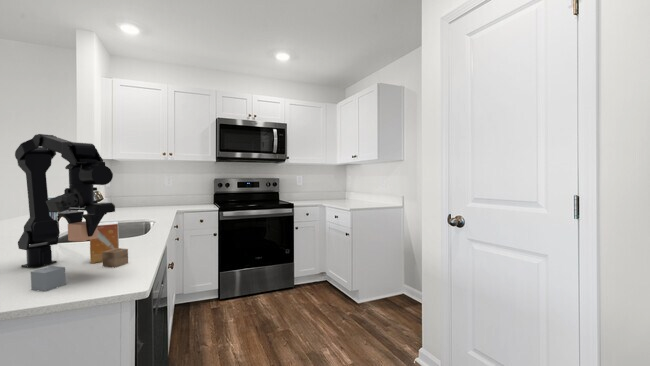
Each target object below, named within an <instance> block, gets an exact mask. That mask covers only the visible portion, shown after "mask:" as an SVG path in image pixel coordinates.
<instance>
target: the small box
mask: <svg viewBox="0 0 650 366" xmlns="http://www.w3.org/2000/svg"><path fill="white" fill-rule="evenodd" d="M97 227H98V238H96V239H91V240H89V255H90V256H89V257H90V264H94V263H103V259H102V252H104V251H107V250H111V249H115V248H120V244H119V243H120V239H119V238H120V237H119V221H106V222H105V221H103V222H99V224H98V226H97Z"/></svg>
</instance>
